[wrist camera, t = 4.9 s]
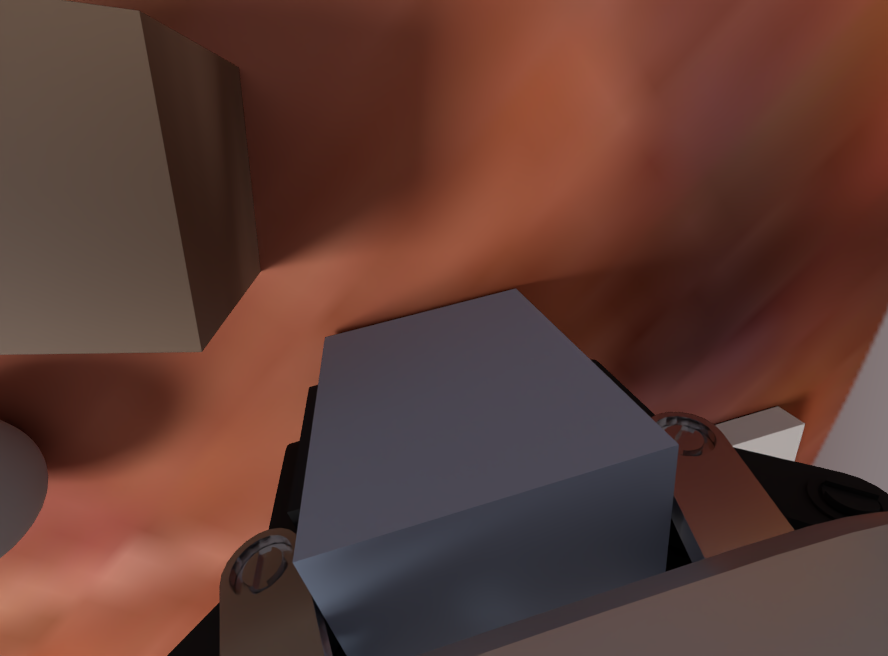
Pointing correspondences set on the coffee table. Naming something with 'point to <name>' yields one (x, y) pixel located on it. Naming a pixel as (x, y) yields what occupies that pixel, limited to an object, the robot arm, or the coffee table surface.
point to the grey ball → (19, 485)
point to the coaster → (765, 433)
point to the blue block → (473, 478)
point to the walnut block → (118, 184)
